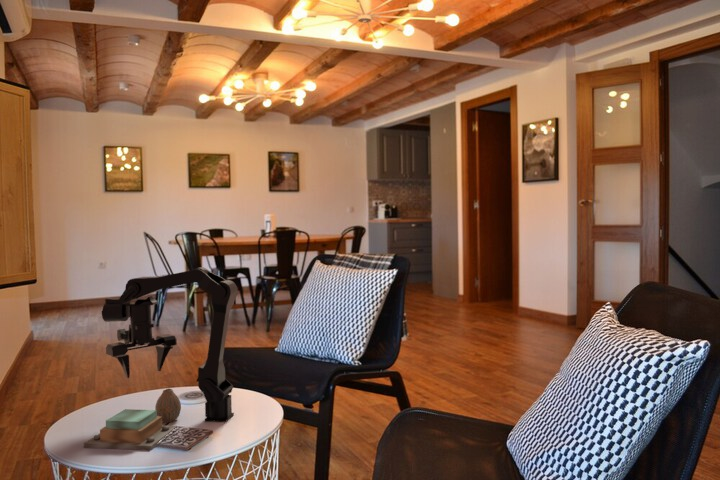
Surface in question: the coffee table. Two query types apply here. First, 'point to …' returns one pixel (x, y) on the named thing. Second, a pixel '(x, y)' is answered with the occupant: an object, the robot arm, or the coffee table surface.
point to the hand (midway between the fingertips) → (143, 374)
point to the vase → (168, 406)
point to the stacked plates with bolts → (131, 431)
